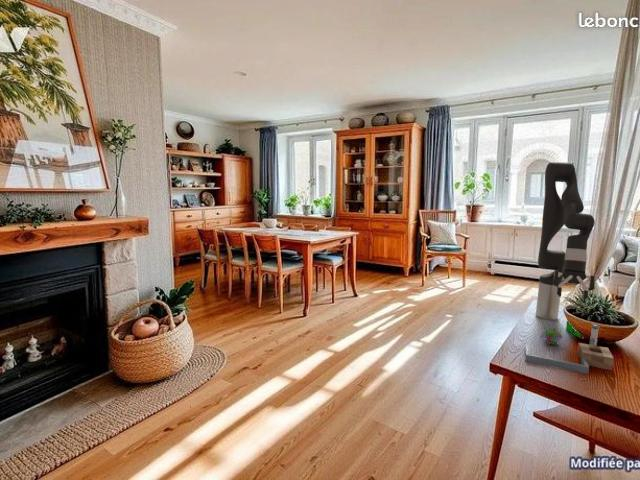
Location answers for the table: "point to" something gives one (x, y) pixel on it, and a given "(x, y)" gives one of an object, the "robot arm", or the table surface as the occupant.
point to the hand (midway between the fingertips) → (571, 298)
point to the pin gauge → (594, 334)
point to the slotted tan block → (596, 356)
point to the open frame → (557, 362)
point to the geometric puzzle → (552, 336)
